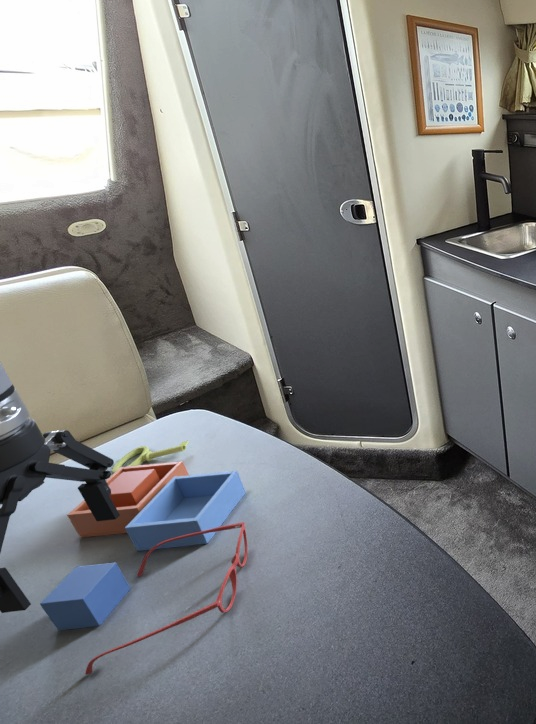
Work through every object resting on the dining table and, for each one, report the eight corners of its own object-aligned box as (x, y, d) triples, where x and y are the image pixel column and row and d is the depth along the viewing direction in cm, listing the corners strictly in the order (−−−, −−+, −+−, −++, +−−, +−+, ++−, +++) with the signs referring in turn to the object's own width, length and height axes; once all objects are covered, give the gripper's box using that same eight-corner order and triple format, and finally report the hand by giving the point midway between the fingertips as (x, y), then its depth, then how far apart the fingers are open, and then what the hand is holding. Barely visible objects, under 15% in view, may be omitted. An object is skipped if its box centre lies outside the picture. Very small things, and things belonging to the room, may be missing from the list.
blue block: (57, 630, 68) (39, 603, 66) (92, 592, 73) (76, 566, 71) (99, 626, 69) (82, 599, 67) (131, 588, 74) (116, 562, 72)
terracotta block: (109, 520, 85) (96, 495, 83) (134, 495, 90) (122, 471, 88) (143, 516, 85) (130, 492, 83) (166, 492, 91) (154, 468, 89)
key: (189, 454, 101) (185, 445, 100) (110, 480, 95) (105, 471, 94) (194, 434, 106) (191, 426, 106) (120, 458, 101) (115, 449, 100)
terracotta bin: (80, 537, 83) (66, 515, 81) (131, 487, 93) (120, 466, 91) (148, 530, 83) (136, 508, 81) (192, 482, 93) (182, 461, 92)
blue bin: (137, 551, 80) (124, 527, 78) (183, 498, 90) (173, 476, 88) (207, 543, 80) (196, 520, 79) (246, 492, 91) (237, 470, 89)
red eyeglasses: (230, 633, 67) (218, 608, 65) (80, 686, 62) (62, 661, 60) (260, 533, 82) (251, 510, 80) (141, 568, 77) (128, 545, 75)
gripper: (-107, 514, 48) (1, 653, 56) (107, 374, 71) (162, 486, 79) (-191, 523, 48) (-70, 662, 56) (51, 379, 71) (113, 491, 79)
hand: (67, 559), depth 67 cm, fingers open, 13 cm apart
